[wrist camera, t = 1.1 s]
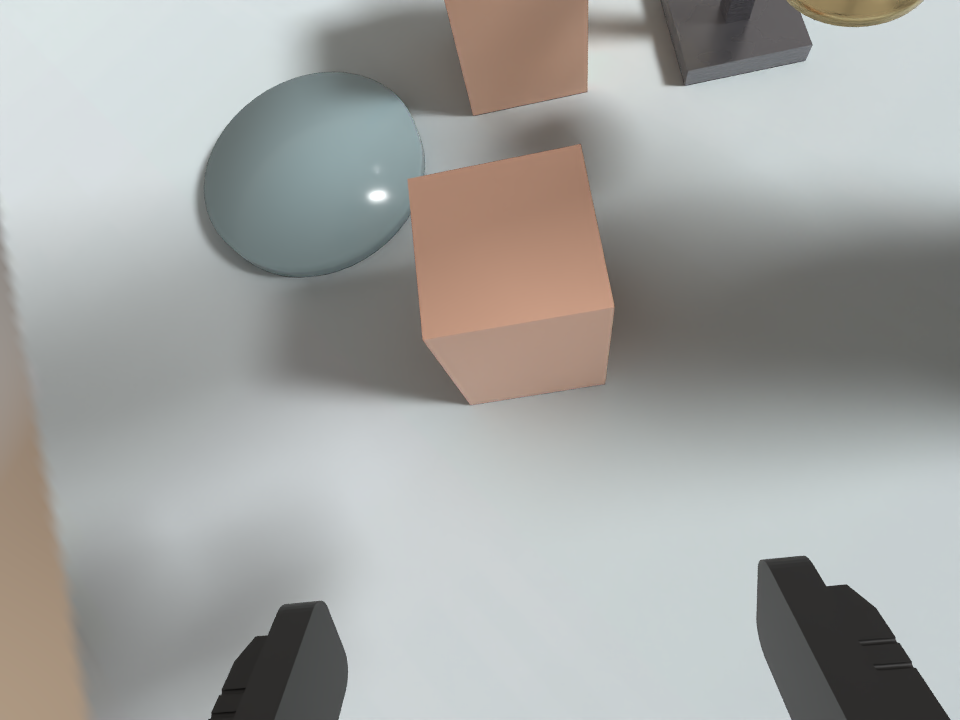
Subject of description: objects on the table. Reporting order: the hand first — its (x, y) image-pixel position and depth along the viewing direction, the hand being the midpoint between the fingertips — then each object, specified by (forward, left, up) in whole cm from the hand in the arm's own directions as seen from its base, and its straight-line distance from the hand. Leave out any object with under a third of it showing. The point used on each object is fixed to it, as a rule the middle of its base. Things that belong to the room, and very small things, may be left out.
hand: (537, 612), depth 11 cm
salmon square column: (-2, -27, -15) cm, 31 cm away
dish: (+10, -22, -15) cm, 29 cm away
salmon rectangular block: (0, -11, -15) cm, 19 cm away
